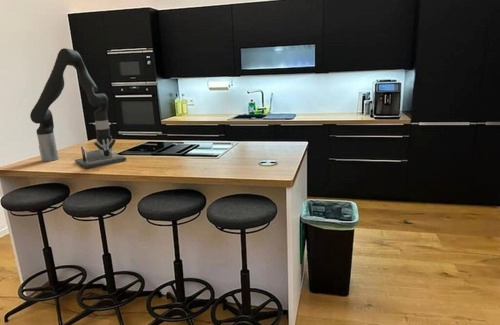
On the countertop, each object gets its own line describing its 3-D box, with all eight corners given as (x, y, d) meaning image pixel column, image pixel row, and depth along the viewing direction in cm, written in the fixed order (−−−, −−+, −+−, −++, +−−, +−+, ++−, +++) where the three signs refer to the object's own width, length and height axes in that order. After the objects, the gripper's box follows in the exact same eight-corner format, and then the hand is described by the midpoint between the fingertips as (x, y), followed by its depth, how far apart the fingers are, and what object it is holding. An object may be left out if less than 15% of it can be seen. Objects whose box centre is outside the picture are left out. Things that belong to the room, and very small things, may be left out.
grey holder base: (86, 169, 203) (83, 152, 201) (75, 162, 218) (72, 147, 215) (126, 160, 218) (124, 144, 216) (114, 155, 233) (111, 140, 230)
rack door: (87, 159, 216) (86, 152, 215) (86, 158, 218) (85, 151, 217) (108, 155, 225) (107, 148, 223) (107, 154, 226) (106, 147, 225)
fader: (112, 159, 215) (111, 152, 214) (110, 157, 218) (109, 151, 217) (117, 158, 217) (116, 151, 216) (115, 157, 220) (114, 150, 219)
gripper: (111, 125, 217) (115, 153, 221) (89, 128, 208) (93, 157, 213) (116, 127, 211) (119, 155, 216) (93, 130, 203) (97, 159, 208)
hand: (106, 156), depth 215 cm, fingers closed
